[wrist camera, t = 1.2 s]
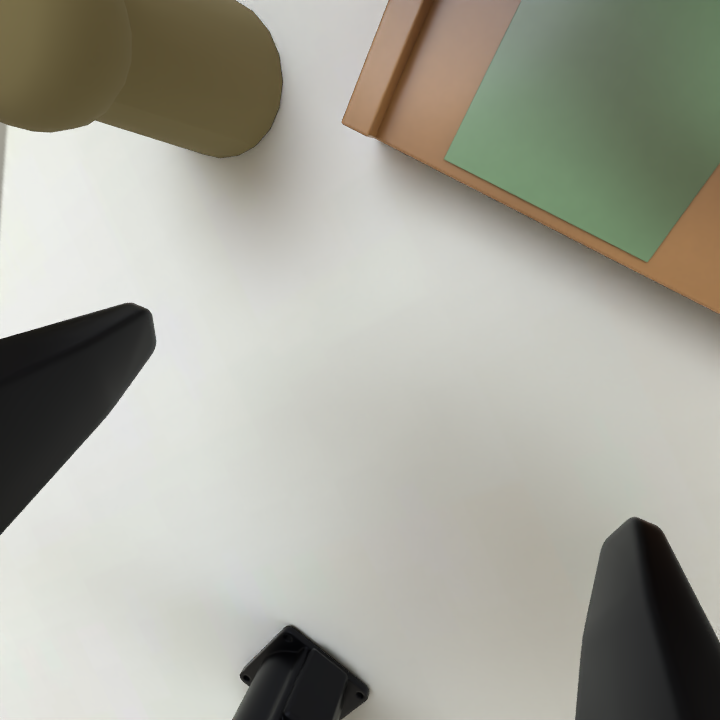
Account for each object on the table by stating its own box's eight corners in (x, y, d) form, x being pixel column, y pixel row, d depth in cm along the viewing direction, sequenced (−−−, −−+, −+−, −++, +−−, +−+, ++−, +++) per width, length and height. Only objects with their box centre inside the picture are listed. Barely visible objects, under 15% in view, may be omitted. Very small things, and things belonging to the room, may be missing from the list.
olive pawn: (134, 28, 22) (-192, -97, 12) (256, -31, 20) (-14, -242, 10) (182, 174, 23) (-68, 174, 13) (300, 134, 21) (107, 99, 11)
